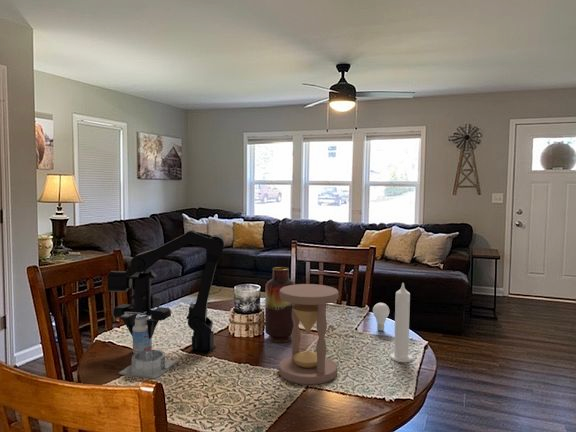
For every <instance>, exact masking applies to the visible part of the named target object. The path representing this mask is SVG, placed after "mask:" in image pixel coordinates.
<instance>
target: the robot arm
mask: <svg viewBox="0 0 576 432" xmlns="http://www.w3.org/2000/svg"><path fill="white" fill-rule="evenodd" d="M190 244H193V245H196V246H198V247H201V248H204V249H206V250H205V265H204V269H203V272H202V277H201V280H200V284H199V289H198V293H197V297H196V300H195V303H193V302H190V305H189V307H188V313H187V316H186V320H187V325H188V327H189V328H190V329H191V330H192V336H191V348H192V349H191V350H190V352H191V353H197V354H210V353H211V352H212V351H214V349H216V347H217V346H216V345H214V343H215V334H214V333H215V332H214V330H212V329H213V324H214V322H213V321H212V319H210V318H209V317H208V300H209V295H210V293H211V292H210V291H211V287H212V284H213V281H214V275H215V273H216V268H217V264H218V261H219V260H220V258H221V255H222V253H223V250H224V248H225V245H226V240H225V239H224V237H223V236H222V235H220V234H213V235H211V234H208V233H203V232H199V231H196V230H194V229H191V230H188V231H187V232H186V233H184V234H181V235H180V236H179V237H176V238H174V239H172V240H171V241H167V242H166V243H164V244H162V245H160V246H159V247H156V248H152V249H149V250H146V251H143V252H139V253H138V254H136V255H134V256H133V257H132V258H131V260H130V266H129V267H128V269H126V271H124V270H120V271H119V270H110V272H109V276H108V278H107V279H108V280H107V282H106V284H107V287H106V288H107V290H108V292H110V293H113V292H114V293H115V292H118V293H119V292H120V293H121V292H124V293H125V292H128V291H129V289H131V288H132V295H130V296H129V298H130V299H131V300H132V304H130V303H129V304H128V303H127V304H126V303H122V304H120V305H117V306H115V307H114V308H113V309H112V317H118V318H119V320H122V321H123V323H124V325H125V326H126V328H127V329H128V332H129V334H130V335H131V336H132V338H133V326H134V325H136V324H135V318H137V315H140V316H150V318H149V320H147V325H148V335H149V338H150V339H151V338H153V336H154V333H155V331H156V328H157V325H158V323H159V322H160V321H164V320H167V319H168V318H170V317H171V316H172V310H171V309H170V308H169V307H161V306H160V305H161V299H162V298H160V297H154V292H152V291H151V289H152V287H151V286H152V283H151V281H152V279H156V277H157V276H158V275H157V273H155V272H154V271H153V269H151V270H149V271H148V272H145V271H147V270H148V269H149V268H151V267H152V266H153V265H154V264H156V263H157V262H159V260H162V259H163V258H165V257H167V256H168V255H170V254H173V253H174V252H176V251H178V250H180V249H182V248H184V247H187V246H188V245H190ZM136 273H138V274H136Z"/></svg>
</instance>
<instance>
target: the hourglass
mask: <svg viewBox="0 0 576 432" xmlns="http://www.w3.org/2000/svg"><path fill="white" fill-rule="evenodd" d="M339 292H340V291H339V290H338V289H337V288H335V287H334V286H330V285H329V286H328V285H324V284H315V283H299V284H298V283H297V284H296V283H295V285H289V286H285V287H283V288H281V289H280V299H282V300H284V301H286V302H290V303H293V307H292V320H293V324H294V326H293V330H292V333H291V339H292V340H291V344H292V349H291V350H292V351H291V353H292V354H291V356H287V357H285V358H283V359H281V361H280V362H279V364H278V373H279V375H280V376H281V378H283V379H284V380H286V381H288V382H290V383H295V384H299V385H309V386H310V385H320V384H324V383H327V382H330V381H332V380H334V379H335V378H336V377H337V374H338V366H337V365H338V364H337V363H336V362H335V361H334V360H332V359H331V358H328V357H327V343H326V340H325V335H326V331H327V329H328V324H327V317H326V315H327V314H326V313H327V304H331V303H334V302H336V301H337V300H338V299H339V296H340V295H339ZM300 323H301V325H302V326H303V328H304V329H305V331H304V333H305V335H310V334H312V328H313V327H314V325H315V324H316V327H315V328H316V331H317V336H318V339H317V342H316V346H315V351H312V350H304V351H301V350H300V346H301V340H302V337H301V336H302V333H301V330H300V327H299V325H300Z"/></svg>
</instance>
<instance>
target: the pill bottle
mask: <svg viewBox="0 0 576 432" xmlns="http://www.w3.org/2000/svg"><path fill="white" fill-rule="evenodd" d="M149 319H150V318H149V316H138V317H137V316H136V318H135V325H134V326H133V337H132V353H133V354H135V353H137V352H140V351H144V350H153V349H152V347H153V346H152V345H153V343H152V342H153V341H152V340H153V339H152V338H153V337H152V338H151V339H150V338H149V335H148V325H147V320H149Z"/></svg>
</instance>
